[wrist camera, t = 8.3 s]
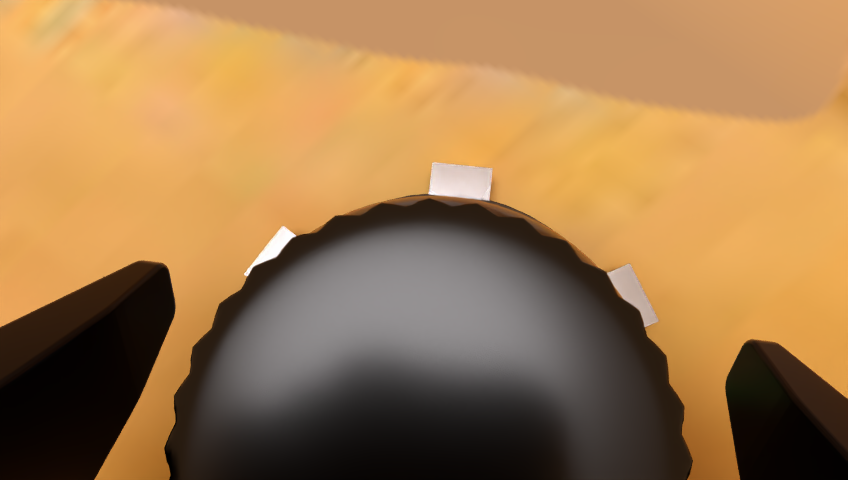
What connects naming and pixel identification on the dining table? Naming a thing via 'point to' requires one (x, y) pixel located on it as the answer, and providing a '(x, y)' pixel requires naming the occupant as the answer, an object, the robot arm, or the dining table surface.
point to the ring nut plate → (477, 187)
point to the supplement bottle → (428, 360)
